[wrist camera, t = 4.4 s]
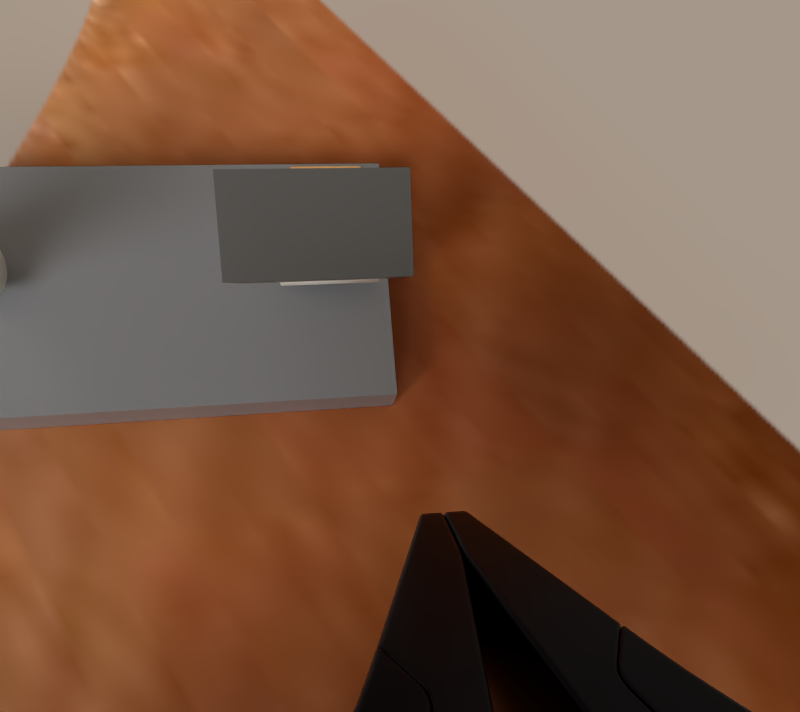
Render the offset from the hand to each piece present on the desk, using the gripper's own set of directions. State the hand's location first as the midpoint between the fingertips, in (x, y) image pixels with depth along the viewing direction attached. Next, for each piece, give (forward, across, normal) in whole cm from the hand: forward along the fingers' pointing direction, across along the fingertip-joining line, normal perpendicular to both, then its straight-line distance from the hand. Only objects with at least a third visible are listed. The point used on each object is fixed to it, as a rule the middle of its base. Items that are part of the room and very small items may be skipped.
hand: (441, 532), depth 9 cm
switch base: (+12, -8, +1) cm, 14 cm away
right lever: (+10, -2, +3) cm, 10 cm away
